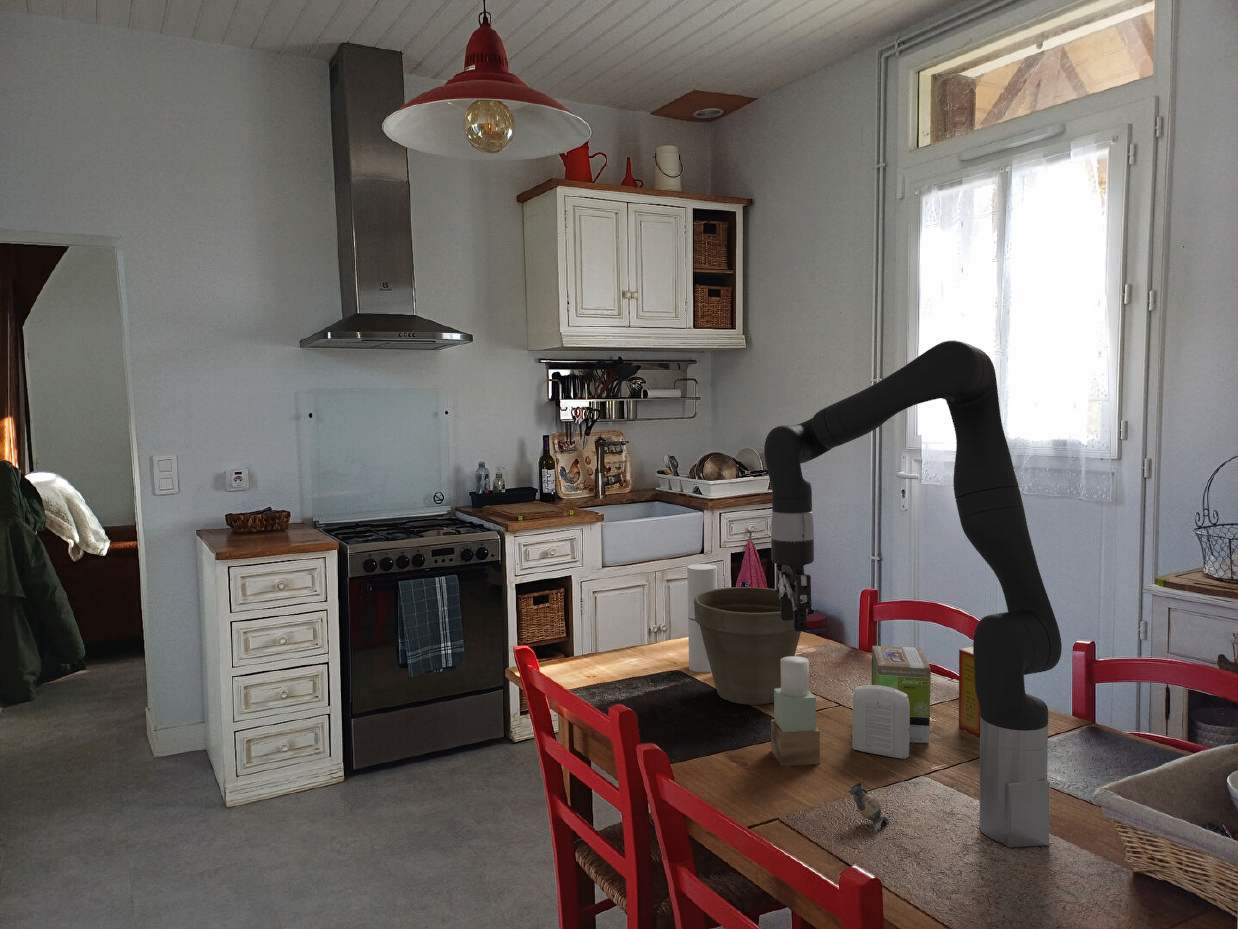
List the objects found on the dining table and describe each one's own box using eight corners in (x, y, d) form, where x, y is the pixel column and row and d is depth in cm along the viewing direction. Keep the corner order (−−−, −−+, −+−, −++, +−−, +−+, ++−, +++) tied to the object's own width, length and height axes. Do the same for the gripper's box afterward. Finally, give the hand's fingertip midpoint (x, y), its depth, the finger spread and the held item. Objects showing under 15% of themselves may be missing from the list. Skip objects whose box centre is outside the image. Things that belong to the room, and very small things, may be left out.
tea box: (931, 744, 168) (931, 667, 167) (876, 741, 170) (876, 665, 169) (921, 716, 183) (921, 645, 182) (870, 714, 185) (870, 643, 184)
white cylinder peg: (812, 696, 161) (812, 663, 160) (785, 698, 160) (784, 665, 160) (804, 687, 166) (804, 655, 165) (777, 689, 165) (777, 657, 165)
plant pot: (831, 704, 192) (831, 603, 190) (729, 721, 183) (728, 616, 181) (770, 672, 215) (769, 582, 213) (676, 686, 206) (675, 592, 204)
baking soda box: (998, 721, 180) (999, 642, 178) (1022, 732, 173) (1023, 651, 172) (958, 727, 177) (959, 647, 176) (981, 738, 171) (981, 656, 170)
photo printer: (911, 753, 165) (912, 687, 164) (906, 761, 161) (907, 694, 160) (855, 743, 170) (855, 679, 169) (849, 751, 166) (849, 686, 165)
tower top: (816, 730, 161) (815, 697, 160) (783, 732, 160) (782, 699, 160) (806, 718, 167) (805, 687, 166) (774, 720, 166) (774, 688, 166)
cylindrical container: (684, 665, 221) (682, 565, 220) (711, 662, 223) (709, 563, 222) (695, 673, 215) (694, 570, 213) (723, 670, 217) (721, 568, 215)
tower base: (819, 764, 161) (819, 731, 160) (781, 766, 160) (781, 733, 160) (808, 749, 168) (807, 717, 167) (771, 751, 167) (771, 719, 167)
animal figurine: (841, 825, 138) (842, 786, 138) (857, 814, 142) (857, 776, 142) (875, 834, 134) (875, 794, 134) (889, 824, 138) (890, 785, 138)
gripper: (825, 541, 154) (826, 634, 155) (801, 530, 169) (802, 615, 170) (782, 542, 154) (783, 636, 155) (762, 531, 168) (763, 617, 169)
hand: (793, 625), depth 162 cm, fingers open, 8 cm apart
